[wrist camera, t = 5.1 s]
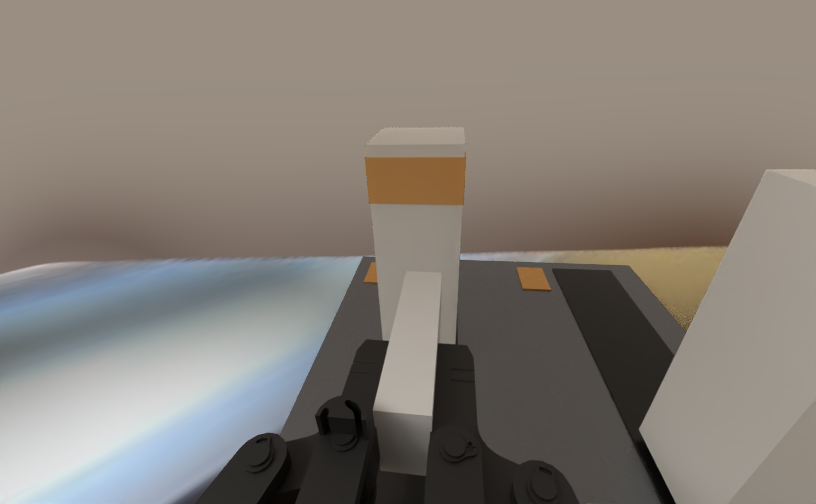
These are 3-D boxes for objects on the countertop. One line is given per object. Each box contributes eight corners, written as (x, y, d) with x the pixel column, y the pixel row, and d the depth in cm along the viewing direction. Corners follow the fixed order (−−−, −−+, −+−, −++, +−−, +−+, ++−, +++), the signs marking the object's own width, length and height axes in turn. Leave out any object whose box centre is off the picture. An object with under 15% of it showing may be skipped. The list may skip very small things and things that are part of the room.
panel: (222, 618, 12) (202, 596, 11) (365, 275, 31) (363, 255, 30) (967, 746, 9) (1033, 732, 8) (622, 286, 28) (629, 264, 27)
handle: (382, 352, 19) (363, 145, 14) (393, 307, 23) (382, 127, 17) (455, 357, 19) (466, 144, 13) (455, 310, 22) (464, 127, 17)
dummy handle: (695, 541, 11) (953, 234, 6) (638, 429, 15) (766, 169, 9) (830, 558, 11) (1257, 240, 5) (739, 438, 14) (939, 169, 9)
